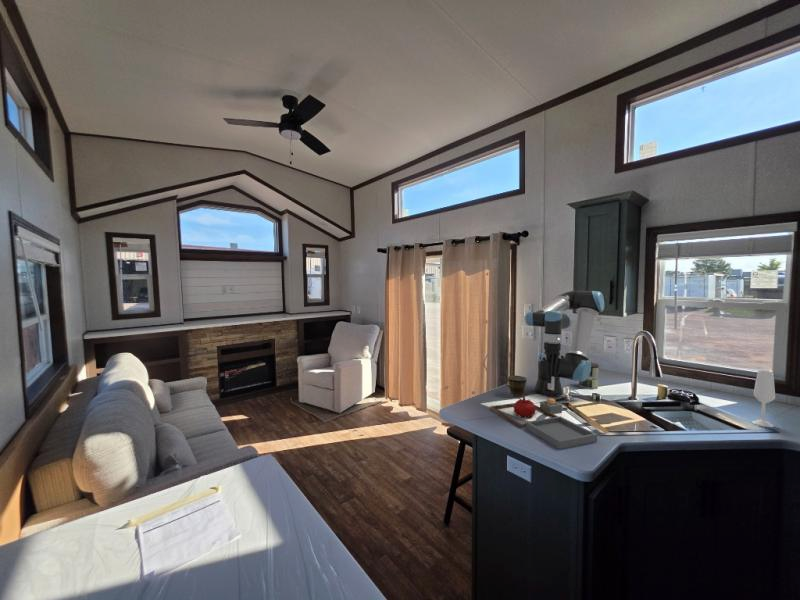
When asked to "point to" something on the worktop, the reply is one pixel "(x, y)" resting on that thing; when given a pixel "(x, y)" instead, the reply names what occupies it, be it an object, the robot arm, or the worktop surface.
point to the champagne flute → (764, 393)
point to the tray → (561, 432)
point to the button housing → (551, 407)
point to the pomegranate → (524, 408)
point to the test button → (550, 401)
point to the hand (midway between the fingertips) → (550, 389)
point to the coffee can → (591, 378)
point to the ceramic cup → (516, 385)
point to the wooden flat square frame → (523, 425)
